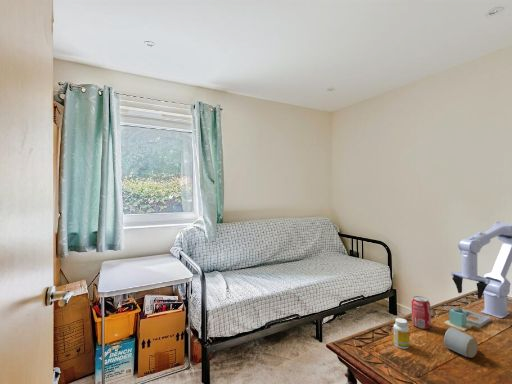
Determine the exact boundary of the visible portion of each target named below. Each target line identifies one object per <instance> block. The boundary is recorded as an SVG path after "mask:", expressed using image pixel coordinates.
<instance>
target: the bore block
mask: <svg viewBox="0 0 512 384" xmlns="http://www.w3.org/2000/svg"><path fill="white" fill-rule="evenodd" d="M461 309H462V310H463V311H466V315H467V316H469V317H472V318H475V319H476V320H474V319H471V318H469V317H467V323H469V324H471V325H473V327H474V326H475V327H477V328H481V327H483V326H484V325H486V324H488V323H489V322H491V321H492V318H491V316H488V315H487V316H486V315H485V314H481V313H478V312H474V311H471V310H469V309H465V308H461Z"/></svg>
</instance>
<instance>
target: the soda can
mask: <svg viewBox="0 0 512 384" xmlns="http://www.w3.org/2000/svg"><path fill="white" fill-rule="evenodd" d="M431 310H432V309H431V304H430V301H429V299H428V298H427V297H426V296H422V295H421V296H420V295H414V296H413V297H412V299H411V322H412V323H411V324H412V325H414V326H415V327H416V328H418V329H421V330H426V329H429V328H430V327H431V325H432V324H431V323H432V315H431V312H432V311H431Z"/></svg>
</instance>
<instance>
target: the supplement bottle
mask: <svg viewBox="0 0 512 384" xmlns="http://www.w3.org/2000/svg"><path fill="white" fill-rule="evenodd" d="M394 321H395V323H394V324H393V326H392V327H393V328H392V330H393V344H394V346H395V347H397V348H400V349H404V350H406V349H409V348H410V328H409V326H408V320H407V319H405V318H401V317H397V318H395V320H394Z"/></svg>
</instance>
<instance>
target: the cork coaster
mask: <svg viewBox="0 0 512 384" xmlns="http://www.w3.org/2000/svg"><path fill="white" fill-rule="evenodd" d="M442 324H443V325H446V326H449V327H450V328H451V327H452V328H455V329H457V330H459V331H461V332H465V331H468V330H469V329H471V328H473V327H474V325H471V324H469V323H467V324H466V325H465V326H463V327H460V326H457V325H454V324H451V323H450V322H449V319H447V320H445V321H444V322H443V323H442Z"/></svg>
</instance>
